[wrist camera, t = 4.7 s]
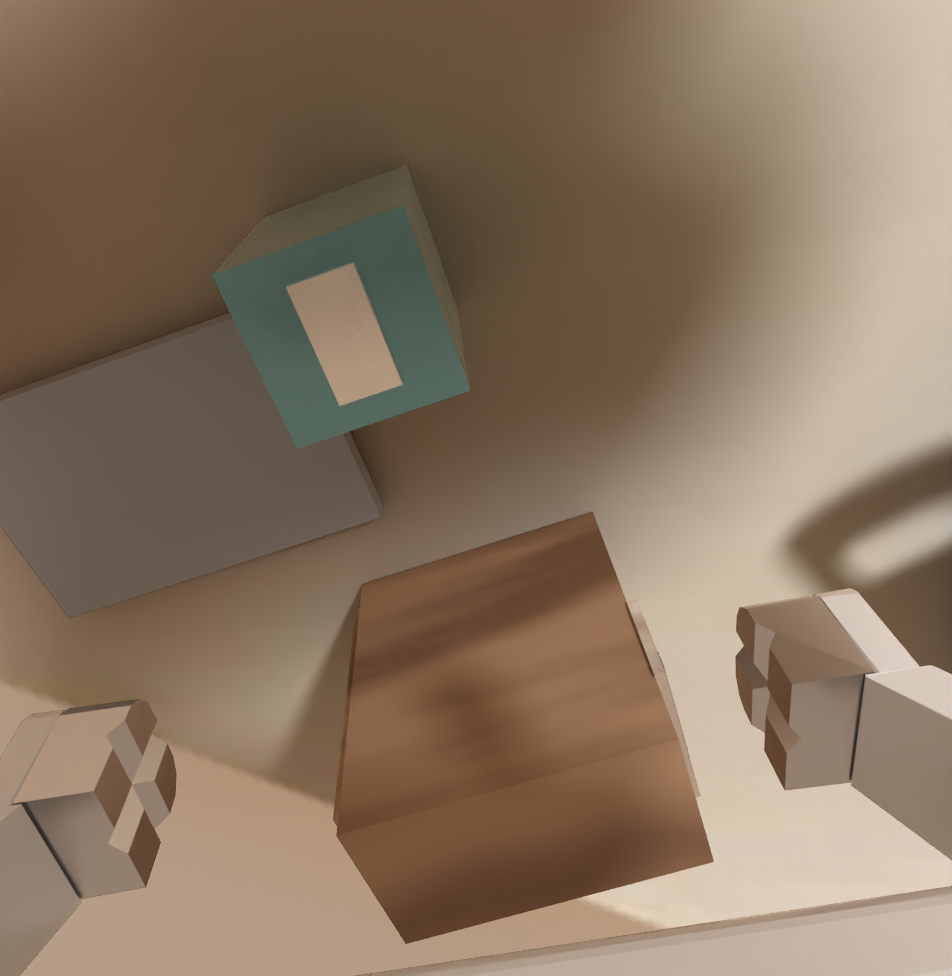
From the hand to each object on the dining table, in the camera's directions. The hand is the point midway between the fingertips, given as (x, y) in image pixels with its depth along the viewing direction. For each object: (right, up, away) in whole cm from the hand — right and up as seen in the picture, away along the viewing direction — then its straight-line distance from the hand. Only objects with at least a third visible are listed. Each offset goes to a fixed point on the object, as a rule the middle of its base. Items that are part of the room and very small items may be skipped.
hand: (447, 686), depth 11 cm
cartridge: (-3, +10, +14) cm, 17 cm away
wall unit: (+1, -2, +20) cm, 20 cm away
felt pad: (-10, +4, +16) cm, 19 cm away
